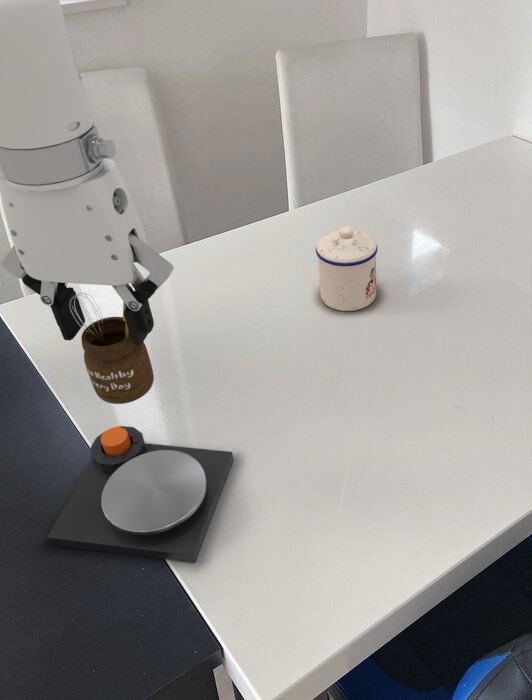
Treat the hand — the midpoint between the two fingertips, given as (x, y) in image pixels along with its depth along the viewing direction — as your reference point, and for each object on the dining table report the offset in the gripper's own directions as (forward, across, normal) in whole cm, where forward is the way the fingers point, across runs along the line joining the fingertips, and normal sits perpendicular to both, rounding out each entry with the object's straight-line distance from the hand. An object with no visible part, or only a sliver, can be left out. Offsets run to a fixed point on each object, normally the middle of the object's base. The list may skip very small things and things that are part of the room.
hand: (108, 332), depth 64 cm
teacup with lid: (+22, -16, -40) cm, 48 cm away
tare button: (+19, +5, -2) cm, 20 cm away
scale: (+22, 0, +3) cm, 22 cm away
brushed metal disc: (+19, -2, +4) cm, 19 cm away
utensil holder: (+7, 0, 0) cm, 7 cm away
